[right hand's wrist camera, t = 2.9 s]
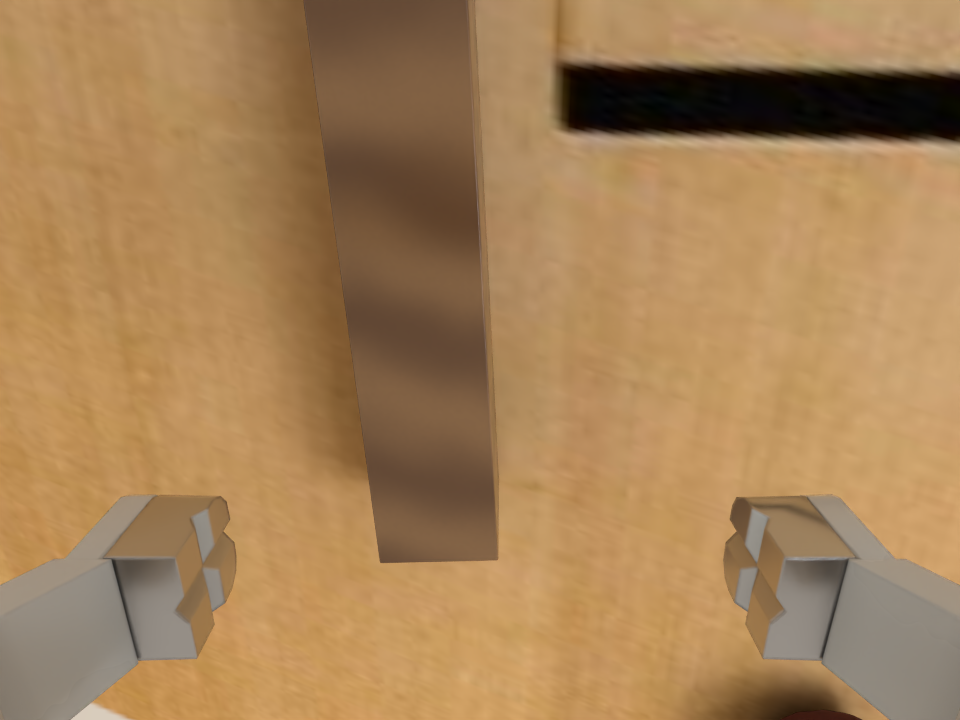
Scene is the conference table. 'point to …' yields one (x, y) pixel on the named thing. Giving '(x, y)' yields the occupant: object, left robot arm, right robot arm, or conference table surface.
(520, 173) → the conference table surface
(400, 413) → the beam
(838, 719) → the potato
